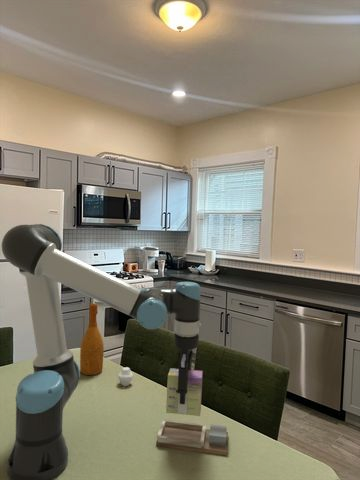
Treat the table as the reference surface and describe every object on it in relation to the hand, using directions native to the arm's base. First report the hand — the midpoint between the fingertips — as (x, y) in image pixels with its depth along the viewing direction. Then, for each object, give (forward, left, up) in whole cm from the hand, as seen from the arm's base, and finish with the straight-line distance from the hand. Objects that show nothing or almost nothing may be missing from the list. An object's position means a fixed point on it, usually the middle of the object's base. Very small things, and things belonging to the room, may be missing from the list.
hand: (183, 407), depth 110 cm
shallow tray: (0, -3, -10) cm, 11 cm away
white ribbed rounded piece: (+32, +28, -10) cm, 44 cm away
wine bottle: (+40, +46, -10) cm, 62 cm away
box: (0, 0, -1) cm, 1 cm away
